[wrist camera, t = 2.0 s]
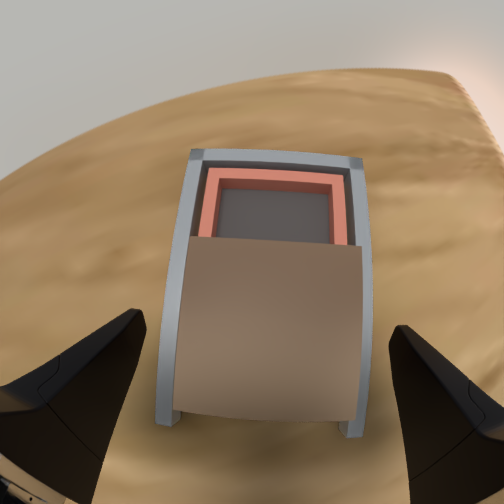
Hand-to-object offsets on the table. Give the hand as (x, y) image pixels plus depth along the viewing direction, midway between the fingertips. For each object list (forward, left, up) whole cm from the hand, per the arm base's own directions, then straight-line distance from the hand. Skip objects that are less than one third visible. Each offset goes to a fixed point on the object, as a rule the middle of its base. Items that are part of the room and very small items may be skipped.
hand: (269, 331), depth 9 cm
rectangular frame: (+4, -6, -8) cm, 11 cm away
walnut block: (0, 0, -8) cm, 8 cm away
